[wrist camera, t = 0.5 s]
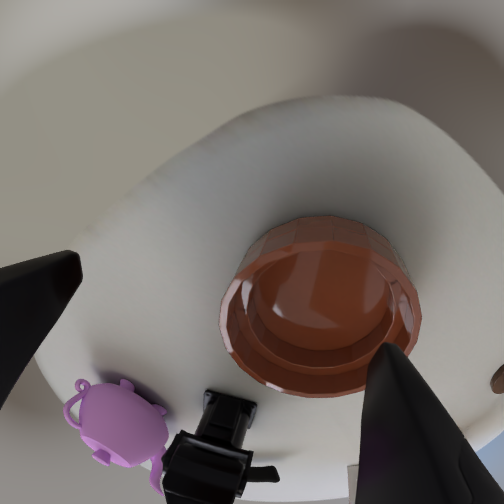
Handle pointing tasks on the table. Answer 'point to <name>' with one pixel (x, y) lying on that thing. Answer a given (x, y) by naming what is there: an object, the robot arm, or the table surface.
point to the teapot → (120, 426)
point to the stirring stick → (498, 381)
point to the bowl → (318, 306)
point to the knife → (263, 474)
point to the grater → (352, 482)
